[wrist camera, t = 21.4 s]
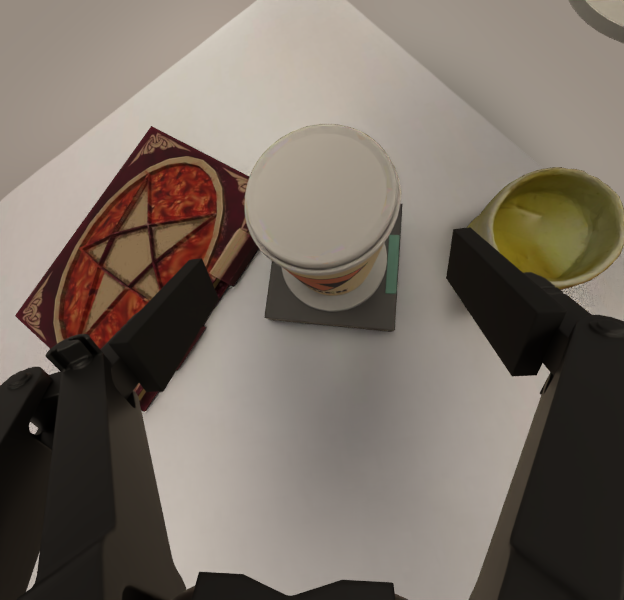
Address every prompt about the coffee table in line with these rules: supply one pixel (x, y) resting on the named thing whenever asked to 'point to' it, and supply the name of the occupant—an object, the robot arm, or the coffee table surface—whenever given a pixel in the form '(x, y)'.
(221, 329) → the coffee table surface
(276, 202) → the coffee cup
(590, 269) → the mug
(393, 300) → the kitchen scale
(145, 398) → the book
